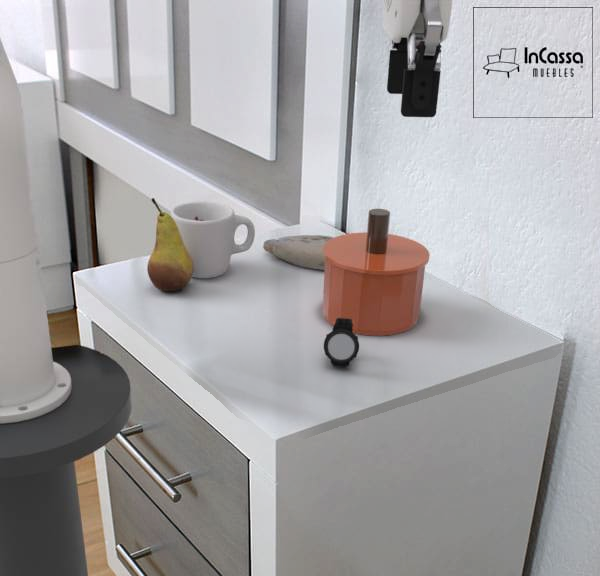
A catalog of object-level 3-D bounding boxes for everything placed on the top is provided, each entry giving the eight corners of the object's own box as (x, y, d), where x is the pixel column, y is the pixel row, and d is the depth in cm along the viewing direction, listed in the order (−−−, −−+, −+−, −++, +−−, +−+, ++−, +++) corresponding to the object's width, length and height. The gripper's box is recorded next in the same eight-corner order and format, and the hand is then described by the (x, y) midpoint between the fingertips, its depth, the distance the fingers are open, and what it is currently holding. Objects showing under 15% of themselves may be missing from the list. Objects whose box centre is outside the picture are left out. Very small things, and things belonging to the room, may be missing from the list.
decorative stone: (270, 248, 125) (270, 224, 123) (379, 263, 121) (381, 239, 119) (255, 263, 120) (256, 238, 118) (369, 279, 116) (371, 254, 114)
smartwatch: (315, 368, 95) (317, 325, 92) (336, 349, 99) (339, 307, 96) (350, 378, 94) (354, 334, 91) (370, 358, 98) (374, 316, 95)
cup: (244, 255, 122) (244, 197, 117) (263, 277, 116) (264, 216, 111) (166, 263, 118) (163, 203, 114) (182, 286, 112) (179, 224, 108)
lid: (402, 288, 96) (407, 238, 93) (303, 264, 101) (305, 216, 98) (444, 254, 106) (450, 208, 102) (351, 234, 110) (354, 188, 107)
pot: (394, 344, 101) (401, 281, 97) (305, 320, 105) (308, 259, 101) (433, 309, 109) (440, 250, 105) (349, 288, 114) (353, 231, 110)
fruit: (199, 295, 110) (197, 198, 104) (153, 300, 108) (147, 201, 102) (189, 278, 114) (185, 184, 108) (144, 282, 113) (138, 187, 106)
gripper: (374, -109, 84) (361, 84, 94) (400, -103, 70) (382, 125, 79) (453, -106, 85) (433, 86, 94) (495, -99, 70) (466, 127, 80)
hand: (409, 104), depth 87 cm, fingers open, 9 cm apart
